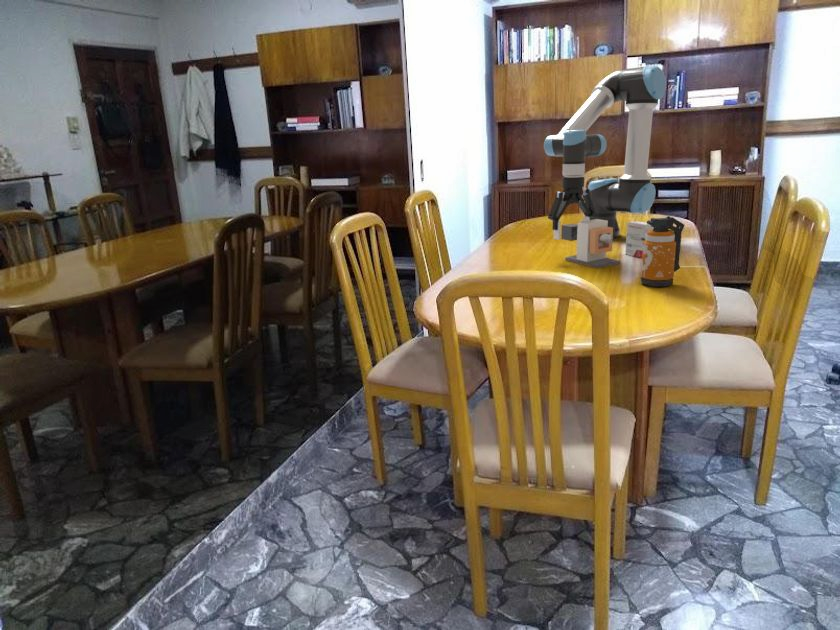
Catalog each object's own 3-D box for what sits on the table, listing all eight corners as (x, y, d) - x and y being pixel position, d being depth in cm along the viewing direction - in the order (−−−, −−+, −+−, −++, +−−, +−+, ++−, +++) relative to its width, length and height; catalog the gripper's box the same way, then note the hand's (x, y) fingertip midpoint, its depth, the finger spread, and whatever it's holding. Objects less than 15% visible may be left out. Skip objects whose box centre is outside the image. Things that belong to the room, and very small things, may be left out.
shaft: (561, 239, 222) (561, 225, 220) (571, 237, 224) (572, 223, 222) (603, 247, 205) (604, 232, 203) (614, 245, 207) (615, 230, 205)
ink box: (652, 256, 217) (655, 223, 214) (642, 258, 215) (644, 224, 212) (635, 252, 225) (636, 220, 221) (624, 254, 223) (626, 221, 219)
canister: (635, 281, 187) (639, 215, 181) (670, 279, 188) (676, 213, 182) (648, 289, 178) (653, 220, 172) (685, 286, 179) (691, 217, 173)
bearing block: (565, 260, 218) (566, 220, 214) (586, 255, 223) (587, 217, 219) (598, 268, 205) (600, 226, 201) (620, 263, 210) (622, 222, 205)
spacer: (589, 253, 209) (590, 229, 206) (606, 249, 212) (607, 226, 210) (594, 254, 207) (595, 230, 204) (611, 251, 210) (613, 227, 208)
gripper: (591, 173, 223) (589, 231, 229) (538, 178, 211) (537, 239, 218) (607, 174, 217) (604, 233, 223) (553, 179, 205) (551, 242, 211)
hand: (571, 236), depth 220 cm, fingers open, 13 cm apart
